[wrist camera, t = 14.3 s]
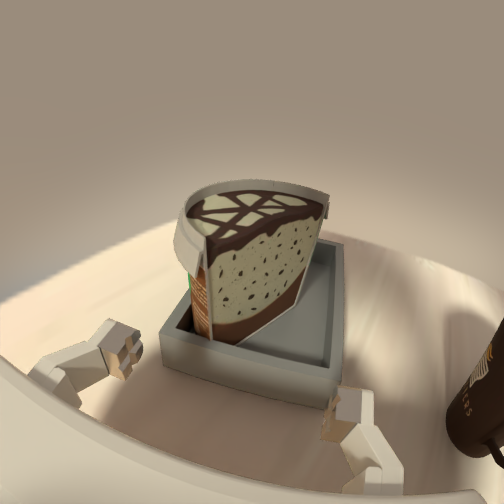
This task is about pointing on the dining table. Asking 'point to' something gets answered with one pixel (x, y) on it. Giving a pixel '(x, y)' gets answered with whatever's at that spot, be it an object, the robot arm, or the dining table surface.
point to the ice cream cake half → (247, 253)
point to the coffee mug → (481, 406)
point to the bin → (274, 341)
